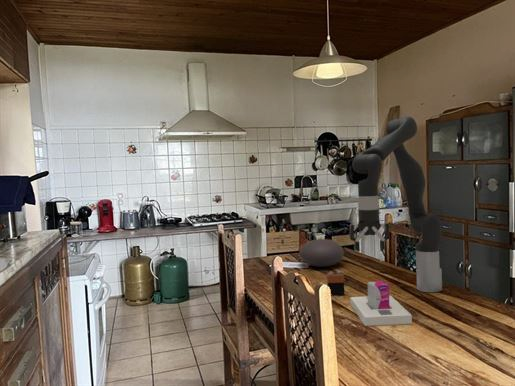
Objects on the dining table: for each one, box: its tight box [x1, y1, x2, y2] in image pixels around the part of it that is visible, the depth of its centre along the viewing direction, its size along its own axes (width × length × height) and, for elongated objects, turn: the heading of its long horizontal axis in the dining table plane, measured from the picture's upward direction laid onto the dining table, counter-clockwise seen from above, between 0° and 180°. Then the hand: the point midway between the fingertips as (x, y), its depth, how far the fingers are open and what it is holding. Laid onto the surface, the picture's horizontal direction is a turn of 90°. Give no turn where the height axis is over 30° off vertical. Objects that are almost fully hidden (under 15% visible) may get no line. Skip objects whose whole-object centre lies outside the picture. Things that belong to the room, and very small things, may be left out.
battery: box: [326, 270, 346, 297], centre depth 171 cm, size 4×7×10 cm, turn 85°
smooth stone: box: [298, 238, 345, 268], centre depth 223 cm, size 25×25×15 cm
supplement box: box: [367, 280, 390, 310], centre depth 146 cm, size 6×6×12 cm
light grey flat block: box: [349, 294, 413, 327], centre depth 146 cm, size 16×22×3 cm
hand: (369, 251), depth 148 cm, fingers open, 8 cm apart
